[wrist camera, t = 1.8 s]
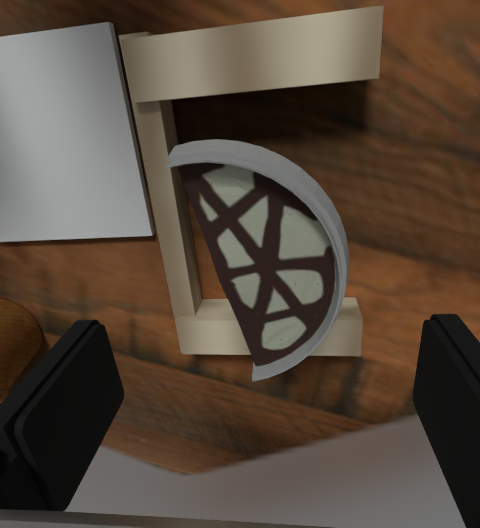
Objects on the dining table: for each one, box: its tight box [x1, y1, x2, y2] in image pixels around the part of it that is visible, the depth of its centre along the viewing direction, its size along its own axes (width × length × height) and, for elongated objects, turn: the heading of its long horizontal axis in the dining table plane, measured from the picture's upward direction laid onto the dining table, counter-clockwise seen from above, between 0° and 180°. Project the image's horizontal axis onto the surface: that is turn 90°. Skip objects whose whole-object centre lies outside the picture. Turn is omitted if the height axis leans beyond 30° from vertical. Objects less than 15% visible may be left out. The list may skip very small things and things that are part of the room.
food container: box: [165, 139, 349, 381], centre depth 20 cm, size 12×6×10 cm, turn 18°
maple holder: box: [119, 5, 384, 356], centre depth 23 cm, size 13×21×3 cm, turn 5°
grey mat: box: [0, 22, 155, 242], centre depth 24 cm, size 13×13×1 cm
